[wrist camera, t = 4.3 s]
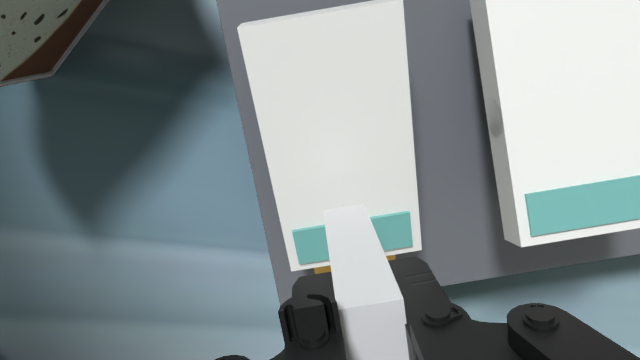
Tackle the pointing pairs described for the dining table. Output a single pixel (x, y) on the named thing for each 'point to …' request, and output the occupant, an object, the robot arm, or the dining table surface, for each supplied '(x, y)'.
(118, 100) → the dining table surface
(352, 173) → the rocker
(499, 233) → the switch unit
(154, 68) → the dining table surface
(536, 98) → the rocker
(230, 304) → the dining table surface
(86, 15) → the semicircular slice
